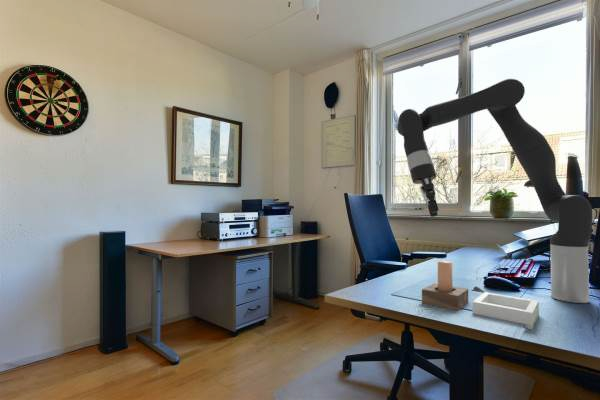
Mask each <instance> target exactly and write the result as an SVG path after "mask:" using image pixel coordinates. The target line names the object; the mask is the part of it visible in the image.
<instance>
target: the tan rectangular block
mask: <svg viewBox="0 0 600 400" xmlns="http://www.w3.org/2000/svg"><path fill="white" fill-rule="evenodd" d="M453 281H454V280H453V262H452V261H448V260H438V261H437V284H438V290H441V291H446V292H453V286H454V285H453Z"/></svg>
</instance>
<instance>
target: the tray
mask: <svg viewBox="0 0 600 400" xmlns="http://www.w3.org/2000/svg"><path fill="white" fill-rule="evenodd" d="M539 303H540V302H539V300H535V299H528V298H523V297H517V296H511V295H505V294H499V293H492V292H486V291H484V293H481V294H480V295H479V296H478V297H476V298H475V299H474V300H473V301H472V314H476V315H479V316H485V317H488V318H490V317H491V318H494V319H500V320H504V321H509V322H514V323H518V324H523V328H524V329H529V330H534V327H535V326H536V323H537V320H538V319H539V317H540V304H539Z"/></svg>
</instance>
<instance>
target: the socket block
mask: <svg viewBox="0 0 600 400" xmlns="http://www.w3.org/2000/svg"><path fill="white" fill-rule="evenodd" d="M421 304H425V305H429V306H434V307H438V308H443V309H444V308H445V309H449V310H453V311H458V312H459V311H460V310H461V309H462V308H463V307H465V306H466V305H467V304H469V288H467V287H466V288H465V287H458V286H454V285H453V292H446V291H441V290H438V283H434V282H433V283H432V284H430V285H427V286H426V287H424V288H422V289H421Z"/></svg>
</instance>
